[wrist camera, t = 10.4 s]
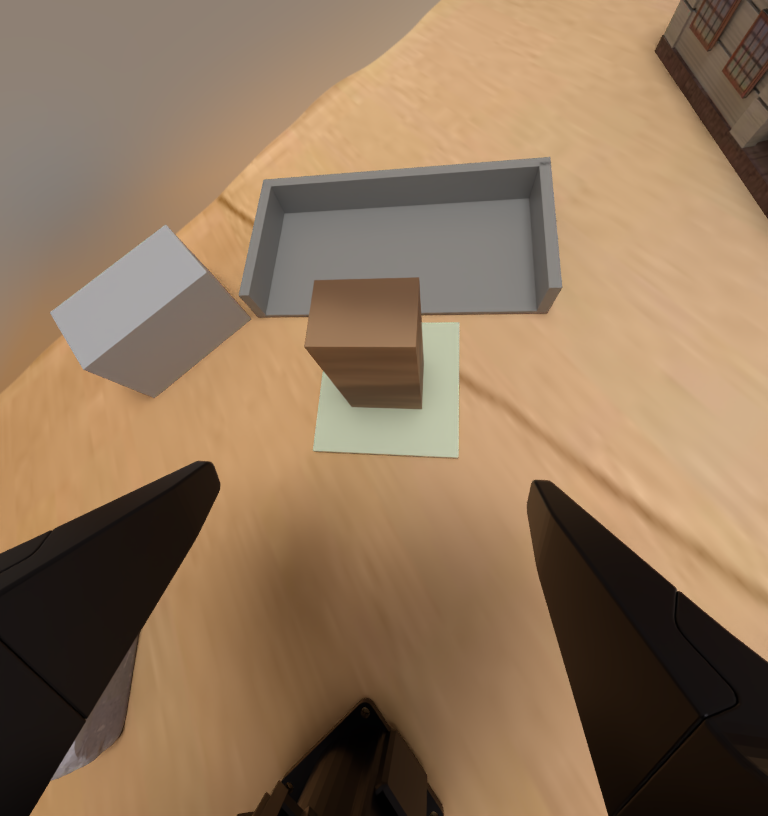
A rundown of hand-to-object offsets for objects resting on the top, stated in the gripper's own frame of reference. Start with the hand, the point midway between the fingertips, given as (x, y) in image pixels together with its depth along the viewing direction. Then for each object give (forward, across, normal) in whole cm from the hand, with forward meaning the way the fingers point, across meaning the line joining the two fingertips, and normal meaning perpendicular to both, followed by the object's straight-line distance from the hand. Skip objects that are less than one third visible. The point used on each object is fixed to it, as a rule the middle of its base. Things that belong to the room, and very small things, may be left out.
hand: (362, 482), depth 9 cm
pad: (+15, +1, +4) cm, 16 cm away
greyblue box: (+18, +19, +1) cm, 26 cm away
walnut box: (+15, +1, +4) cm, 15 cm away
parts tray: (+23, +2, -4) cm, 23 cm away
